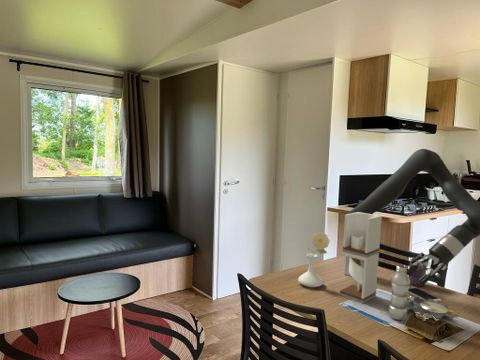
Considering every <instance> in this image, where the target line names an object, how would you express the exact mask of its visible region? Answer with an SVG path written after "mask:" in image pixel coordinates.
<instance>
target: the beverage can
mask: <svg viewBox="0 0 480 360" xmlns="http://www.w3.org/2000/svg"><path fill="white" fill-rule="evenodd" d="M414 258H415V257H411V258H410V261H409V265H408V266H409V267H408V269H409V268H410V267H411V266H412V263H411V261H412V260H413V259H414ZM415 262H417V260H416V261H415ZM421 263H422V262H421ZM418 266H419V265H418ZM426 273H427V269H426V268H424V269H422V268H421V269H418V270H417V271H416V272H415V273H413V274H412V275H411V276H408V277H409V279H410V285H411V286H413V287H424V286H425V285H426V283H425V284H424V285H421V284H420V283H419V282H418V280H419V279H420V278H421V277H422V276H423V275H424V274H426Z"/></svg>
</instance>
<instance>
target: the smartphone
mask: <svg viewBox="0 0 480 360" xmlns="http://www.w3.org/2000/svg"><path fill="white" fill-rule="evenodd" d="M408 293H410V294H412V295H414V296H416V297H419V298H421V299H426V300H428V299H433V300H434V302H436V303H437V302H442V299H441V298H439V297H436V296H434V295H432V294H430V293H429V292H426V291H425V290H422V289H421V288H418V287H417V286H409V289H408Z"/></svg>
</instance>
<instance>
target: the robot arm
mask: <svg viewBox="0 0 480 360" xmlns="http://www.w3.org/2000/svg"><path fill="white" fill-rule="evenodd" d="M421 172H425V173H427V174H429V175H430V176H431V177H432V178H434V180H435V181H436V182H437V183H438V184H439V186H440V188H441V191H442V192H443V194H444V195H445V197H446V199H448V200H449V202H450V203H451V204H452V205H453V207H455V209H457V210H458V211H462V213H463V214H464V215H465V216H466V217H467V219H466V221H464V222H463V223H462V224H459V225H456V226H454V227H453V228H452V229H451V230H450V231H448V233H446V234H445V235H444V236H442V237H441V238H440V239H439V240H438V241H437V242H435V243H434V244H433V245H432V246H430V248H429V249H428V254H425V253H424V252H420V253H418V255H417V256H415V257H413V258H414V259H413V260H412V261H411V260H410V261H411V263H412V266H411V267H410V268H409V267H408V268H407V273H406V274H407V276H408V277H409V276H411V275H412V274H413V273H415V272H416V271H417V270H418V269H421V268H422V269H424V268H426V274H424V275H423V276H422V277H421V278H420V279H419V280H418V282H419V283H420V284H421V285H424V284H425V285H426V283H428V282H429V281H430V280H433V279H434V280H435V281H437V280H438V279H439V278H440V277H441V276H443V274H444V273H446V271H447V270H448V269H449V268H448V267H447V265H448V264H449V263H450V262H451V261H452V260H453V259H454V258H456V256H458V255H459V254H460V253H461V252H462V250H463V249H465V248H466V247H467V246H468V245H469V244H470V243H471V242H472V241H473V240H474V239H476V238H477V237H479V236H480V201H479V200H477V198H476V199H475V198H474V197H473V196H472V195H471V194H470V193H469V191H468V190H467V189H466V188H465V187H464V186H463V185H462V184H461V183H460V182H459V180H457V178H456V177H455V176H454V175H453V174H452V173H451V171H450V170H449V169H448V167H447V165H446V164H445V162H444V160H443V159H442V157H441V156H440V155H439V154H438V153H437V152H435V151H433V150H430V149H427V148H419V149H418V150H415V151H414V152H413V153H412V154H411V155H410V156H409V157H408V158H407V160H406V161H404V163H403V164H402V165H401V166H400V167H399V168H398V169H397V170H396V171H395V172H394V173H392V174H391V175H390V176H389V177H388V178H387V179H386V180H385V181H383V182H382V183H381V184H380V185H379V186H378V187H376V189H375V190H373V191H372V192H371V193H370V194H369V195H368V196H367V197H366V198H365V199H364V200H363V201H362V202H360V203H359V204H358V205H356V206H355V207H354V208H352V209H351V210H349V211H348V212H347V214H351V213H356V212H361V213H367V214H373V215H374V213H375V214H376V212H378V211H380V210H382V209H384V208H385V207H387V206H390V205H391V204H392V203H393V202H395V201H396V200H398V198H399V197H401V196H402V194H403V193H404V191H405V189H406V187H407V186H408V184H409V182H410V181H411V180H412V178H414V177H416V175H418V174H419V173H421ZM416 260H417V262H415V261H416ZM344 262H345V264H344V275H345V276H348V277H352V276H351V275H350V273H349V263H350V257H349V256H345V261H344ZM421 262H422V263H421ZM418 265H419V266H418ZM425 285H424V286H425Z"/></svg>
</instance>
